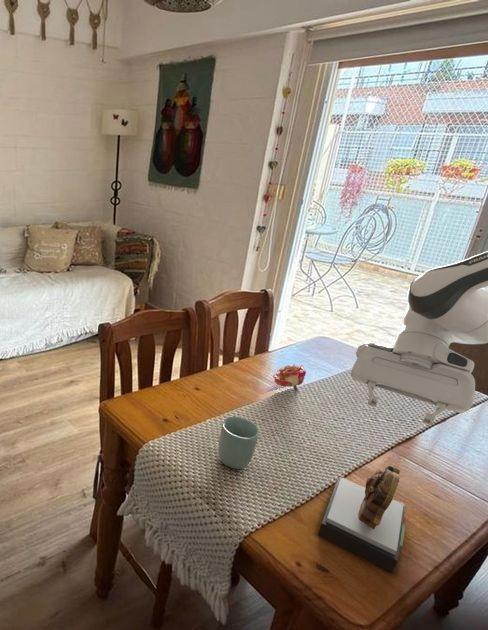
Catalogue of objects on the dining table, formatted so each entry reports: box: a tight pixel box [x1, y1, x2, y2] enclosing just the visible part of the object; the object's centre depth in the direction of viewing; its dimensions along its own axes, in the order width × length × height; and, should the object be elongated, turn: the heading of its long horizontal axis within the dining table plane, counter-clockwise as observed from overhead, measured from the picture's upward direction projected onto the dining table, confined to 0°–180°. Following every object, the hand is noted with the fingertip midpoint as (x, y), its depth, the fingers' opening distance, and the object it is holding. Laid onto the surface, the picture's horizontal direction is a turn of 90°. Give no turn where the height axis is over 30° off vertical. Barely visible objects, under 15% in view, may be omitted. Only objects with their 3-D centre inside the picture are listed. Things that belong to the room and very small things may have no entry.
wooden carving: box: [358, 465, 401, 529], centre depth 83 cm, size 16×5×10 cm, turn 143°
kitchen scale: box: [317, 477, 406, 573], centre depth 86 cm, size 12×16×4 cm
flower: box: [272, 363, 307, 392], centre depth 132 cm, size 10×9×8 cm
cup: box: [217, 416, 260, 470], centre depth 101 cm, size 8×8×10 cm
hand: (398, 414), depth 89 cm, fingers open, 8 cm apart
